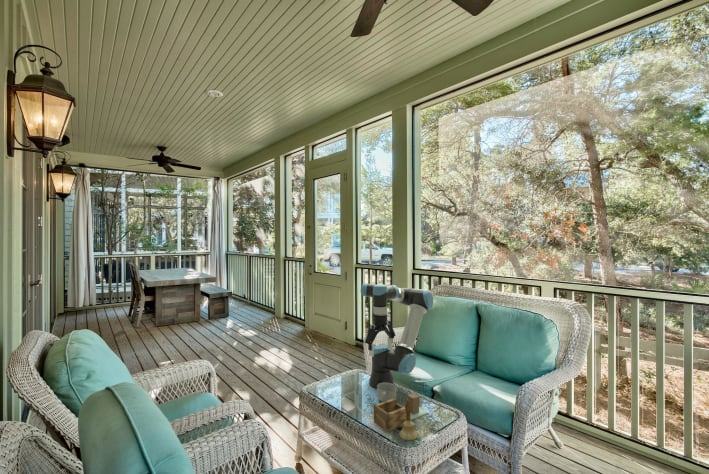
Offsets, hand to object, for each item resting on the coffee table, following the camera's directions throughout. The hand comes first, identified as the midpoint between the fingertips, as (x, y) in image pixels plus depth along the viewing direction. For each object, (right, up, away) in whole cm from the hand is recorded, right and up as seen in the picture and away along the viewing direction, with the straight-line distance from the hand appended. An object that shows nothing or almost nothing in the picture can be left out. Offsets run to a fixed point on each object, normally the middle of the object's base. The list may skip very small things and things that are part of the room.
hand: (380, 352), depth 184 cm
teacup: (+3, -28, +3) cm, 28 cm away
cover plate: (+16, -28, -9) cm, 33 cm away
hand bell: (+10, -28, -28) cm, 41 cm away
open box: (+4, -28, -17) cm, 33 cm away
